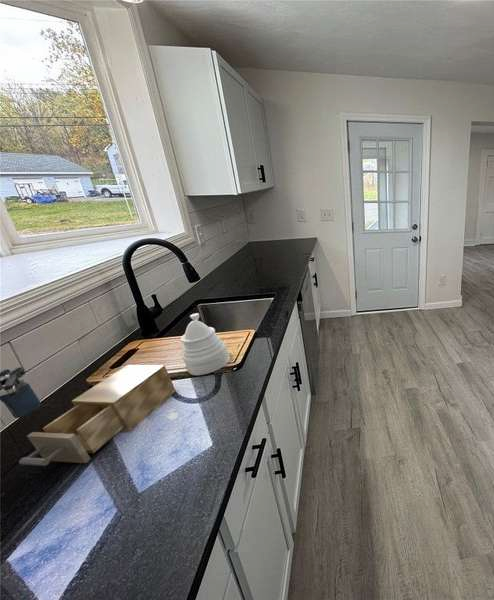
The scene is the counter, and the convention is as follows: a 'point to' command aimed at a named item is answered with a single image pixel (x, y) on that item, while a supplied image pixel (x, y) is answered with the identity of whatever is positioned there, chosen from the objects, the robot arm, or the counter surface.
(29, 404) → the vaping device
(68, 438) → the drawer
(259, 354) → the counter surface
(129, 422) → the cabinet
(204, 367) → the honey pot
